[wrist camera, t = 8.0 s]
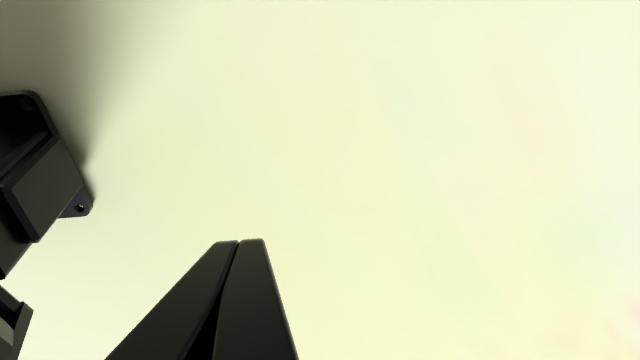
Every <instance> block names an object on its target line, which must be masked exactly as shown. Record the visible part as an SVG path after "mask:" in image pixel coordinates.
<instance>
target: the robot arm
mask: <svg viewBox="0 0 640 360" xmlns="http://www.w3.org/2000/svg"><path fill="white" fill-rule="evenodd" d="M25 100H27V101H29V102H30V103H31V104H32V106H29V105H28V104H27V103H26V102H25ZM78 204H79V205H82V206H83V207H81V206H79V205H78ZM92 208H93V203H92V201H91V199H90V197H89V195H88V192H87V190H86V188H85V186H84V184H83V181H82V178H81V176H80V174H79V172H78V170H77V168H76V166H75V164H74V162H73V160H72V158H71V156H70V154H69V152H68V150H67V148H66V146H65V144H64V142H63V140H62V138H61V137H60V135H59V133H58V131H57V129H56V127H55V125H54V123H53V121H52V119H51V117H50V115H49V113H48V111H47V109H46V107H45V105H44V103H43V101H42V99H41V98H40V96H39V95H38V94H36V93H35V92H33V91H30V90H22V91H11V92H1V93H0V280H3V279H5V278H6V276H7V275H8V274H9V272H10V271H11V270H12V269H13V267H14V266H15V265H16V264H17V262H18V261H19V260H20V258H21V257H22V256H23V255H24V253H25V252H26V251H27V250H28V248H29V247H30V246H31V244H32V243H38V242H39V241H40V240H41V239H42V238H43V236H44V235H45V234H46V232H47V231H48V230H49V228H50V227H51V226H52V225H53V223H54V222H55V221H56V219H57V218H69V217H82V216H87V215H88V214H89V213H90V211H91V210H92ZM32 314H33V309H31V308H30V307H29V306H28V305H27V304H26V303H25V302H19V301H18V300H17V299H16V298H15V297H14V296H12V295H11V294H10V293H9V292H8V291H7V290H6V289H4V288H3V287H2V286H1V285H0V360H17V359H18V356H19V353H20V350H21V347H22V344H23V341H24V338H25V335H26V332H27V329H28V326H29V323H30V320H31V317H32ZM105 360H299V358H298V354H297V351H296V348H295V344H294V341H293V337H292V334H291V331H290V327H289V324H288V320H287V317H286V314H285V310H284V307H283V303H282V300H281V297H280V293H279V290H278V286H277V283H276V280H275V276H274V273H273V269H272V266H271V263H270V259H269V256H268V252H267V249H266V246H265V242H264V240H263V239H260V238H259V239H246V240H242V241H241V242H238V241H237V240H232V241H219V242H216V243H214V244H213V245H212V246H211V247H210V248H209V249H208V250H207V252H206V253H205V254H204V255H203V256H202V257H201V258H200V259H199V260H198V261H197V262H196V263H195V264H194V265H193V266H192V267H191V268H190V270H189V271H188V272H187V273H186V274H185V275H184V276H183V277H182V278H181V279H180V280H179V281H178V282H177V283H176V284H175V285H174V286H173V288H172V289H171V290H170V291H169V292H168V293H167V294H166V295H165V296H164V297H163V298H162V299H161V300H160V301H159V302H158V303H157V304H156V306H155V307H154V308H153V309H152V310H151V311H150V312H149V313H148V314H147V315H146V316H145V317H144V318H143V319H142V320H141V321H140V323H139V324H138V325H137V326H136V327H135V328H134V329H133V330H132V331H131V332H130V333H129V334H128V335H127V336H126V337H125V338H124V339H123V341H122V342H121V343H120V344H119V345H118V346H117V347H116V348H115V349H114V350H113V351H112V352H111V353H110V354H109V355H108V356H107V357H106V359H105Z"/></svg>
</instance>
